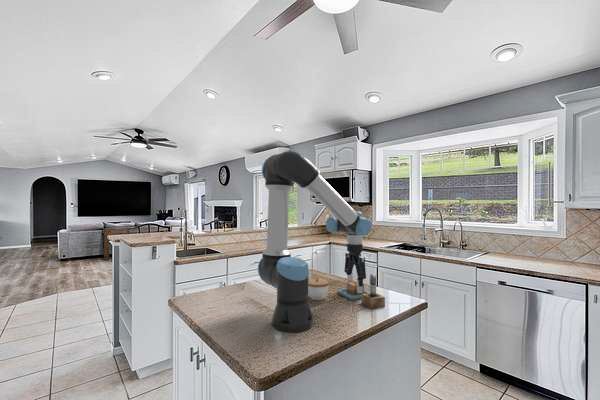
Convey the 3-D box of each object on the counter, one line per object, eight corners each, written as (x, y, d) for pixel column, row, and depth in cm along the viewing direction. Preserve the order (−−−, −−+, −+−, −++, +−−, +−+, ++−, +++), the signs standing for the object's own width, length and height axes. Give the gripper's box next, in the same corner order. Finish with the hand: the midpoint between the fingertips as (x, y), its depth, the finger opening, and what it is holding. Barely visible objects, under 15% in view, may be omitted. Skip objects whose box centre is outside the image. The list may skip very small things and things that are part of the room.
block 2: (371, 308, 123) (371, 298, 123) (361, 303, 129) (361, 294, 129) (384, 306, 125) (384, 296, 125) (374, 301, 132) (374, 292, 132)
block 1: (353, 296, 137) (353, 285, 137) (346, 292, 142) (346, 282, 142) (364, 294, 139) (364, 283, 139) (356, 290, 145) (356, 280, 145)
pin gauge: (372, 306, 125) (372, 276, 125) (368, 304, 128) (368, 274, 128) (377, 305, 126) (377, 275, 126) (373, 303, 129) (373, 274, 129)
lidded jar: (328, 294, 140) (328, 275, 140) (328, 302, 130) (328, 281, 130) (306, 294, 141) (306, 274, 141) (304, 301, 131) (304, 280, 131)
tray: (350, 300, 133) (350, 296, 133) (337, 292, 144) (337, 289, 144) (372, 297, 137) (372, 293, 137) (358, 289, 148) (358, 286, 148)
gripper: (374, 245, 133) (374, 295, 132) (349, 240, 152) (349, 283, 151) (360, 246, 130) (360, 297, 130) (337, 241, 149) (337, 285, 149)
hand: (354, 290), depth 140 cm, fingers open, 8 cm apart
